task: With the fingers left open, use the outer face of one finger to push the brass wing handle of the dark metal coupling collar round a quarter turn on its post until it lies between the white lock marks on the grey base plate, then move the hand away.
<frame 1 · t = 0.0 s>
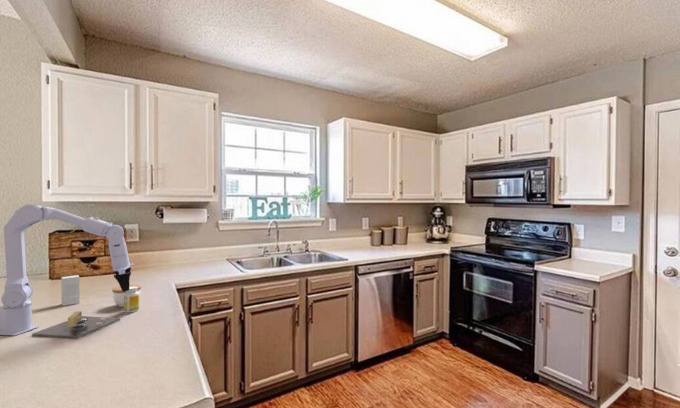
hand: (126, 288, 133), 11 cm above the worktop, tool pointing down, fingers open, 7 cm apart
lidded jar: (126, 305, 147), on the worktop
skincare box: (70, 304, 149), on the worktop
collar: (76, 318, 117), point 4 cm above the worktop, hinge at 0.0°
base plate: (79, 327, 120), on the worktop
supplement bottle: (131, 311, 139), on the worktop
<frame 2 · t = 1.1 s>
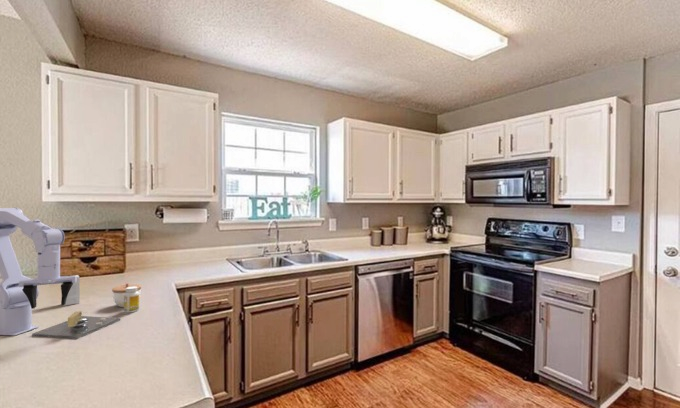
hand: (48, 306, 112), 10 cm above the worktop, tool pointing down, fingers open, 7 cm apart
nothing on the worktop moved.
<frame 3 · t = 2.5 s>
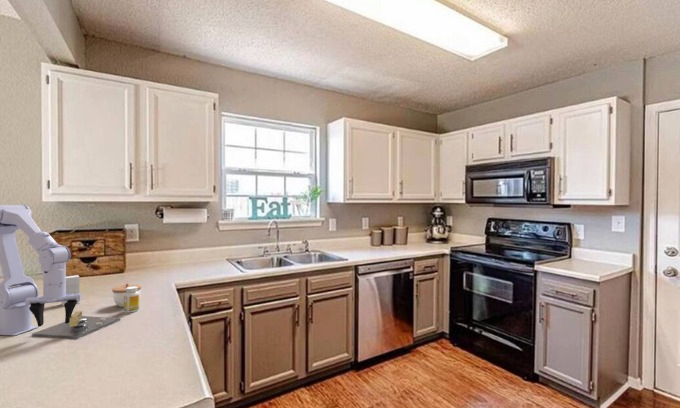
hand: (54, 324, 112), 4 cm above the worktop, tool pointing down, fingers open, 7 cm apart
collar: (77, 318, 117), point 4 cm above the worktop, hinge at 3.7°, touching gripper
everything else where it was.
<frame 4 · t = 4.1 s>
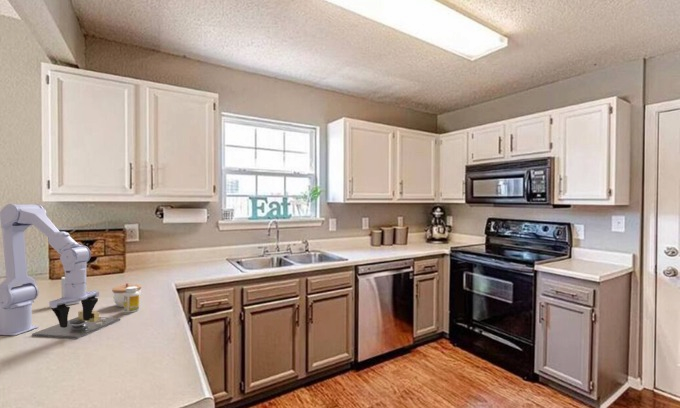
hand: (75, 323, 113), 4 cm above the worktop, tool pointing down, fingers open, 7 cm apart
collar: (85, 316, 119), point 4 cm above the worktop, hinge at 52.7°, touching gripper
everything else where it was.
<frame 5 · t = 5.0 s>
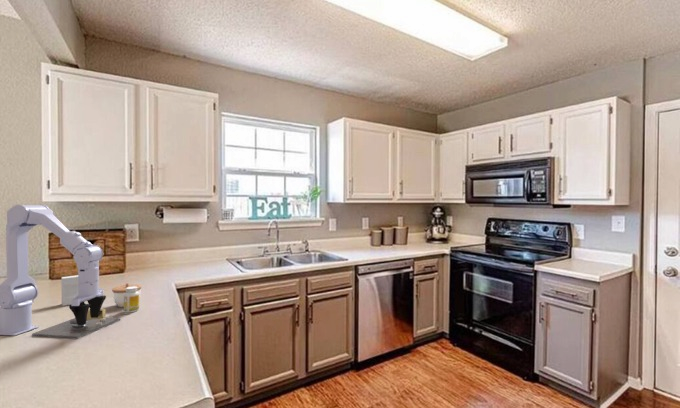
hand: (88, 321, 115), 4 cm above the worktop, tool pointing down, fingers open, 7 cm apart
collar: (87, 315, 120), point 4 cm above the worktop, hinge at 77.9°, touching gripper
everything else where it was.
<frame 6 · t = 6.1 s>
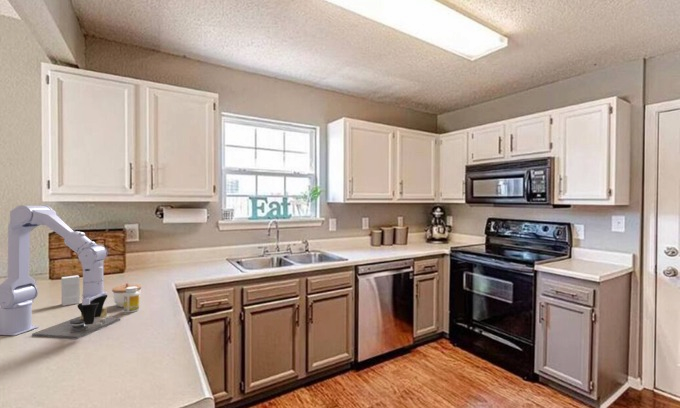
hand: (93, 320, 116), 4 cm above the worktop, tool pointing down, fingers open, 7 cm apart
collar: (88, 315, 121), point 4 cm above the worktop, hinge at 92.2°
everything else where it was.
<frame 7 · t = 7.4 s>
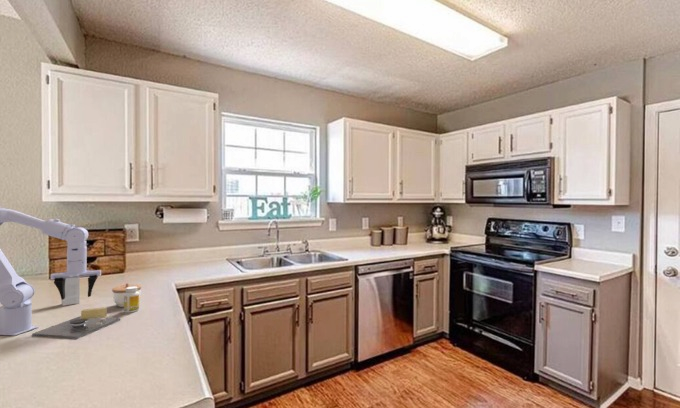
hand: (76, 297, 123), 10 cm above the worktop, tool pointing down, fingers open, 7 cm apart
nothing on the worktop moved.
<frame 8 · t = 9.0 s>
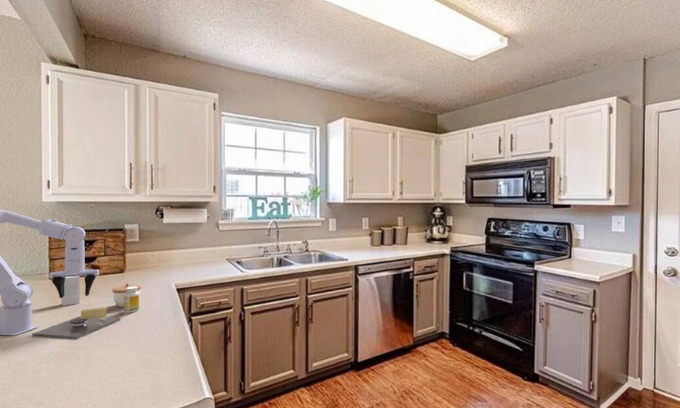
hand: (74, 296, 125), 10 cm above the worktop, tool pointing down, fingers open, 7 cm apart
nothing on the worktop moved.
at the end: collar at +92° (first picture: +0°); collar touching nothing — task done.
